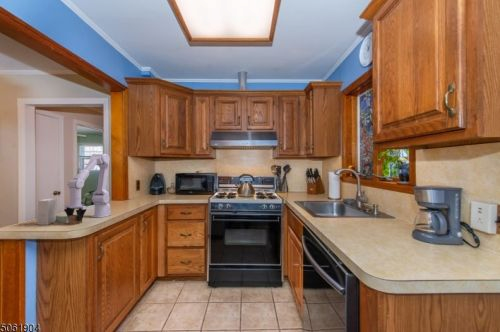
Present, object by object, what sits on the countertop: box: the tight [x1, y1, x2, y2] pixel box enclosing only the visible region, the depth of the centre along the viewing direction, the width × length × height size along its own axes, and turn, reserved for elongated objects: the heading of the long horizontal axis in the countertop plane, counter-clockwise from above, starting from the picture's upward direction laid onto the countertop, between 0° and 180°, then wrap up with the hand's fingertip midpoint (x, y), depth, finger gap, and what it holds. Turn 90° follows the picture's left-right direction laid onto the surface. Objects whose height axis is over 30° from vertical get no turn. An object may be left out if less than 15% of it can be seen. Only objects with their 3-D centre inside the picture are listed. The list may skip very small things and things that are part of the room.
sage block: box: [55, 212, 77, 223], centre depth 158 cm, size 10×10×4 cm
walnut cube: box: [67, 214, 83, 225], centre depth 150 cm, size 5×5×5 cm
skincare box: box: [37, 198, 58, 226], centre depth 149 cm, size 8×6×15 cm
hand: (75, 220), depth 150 cm, fingers open, 7 cm apart
